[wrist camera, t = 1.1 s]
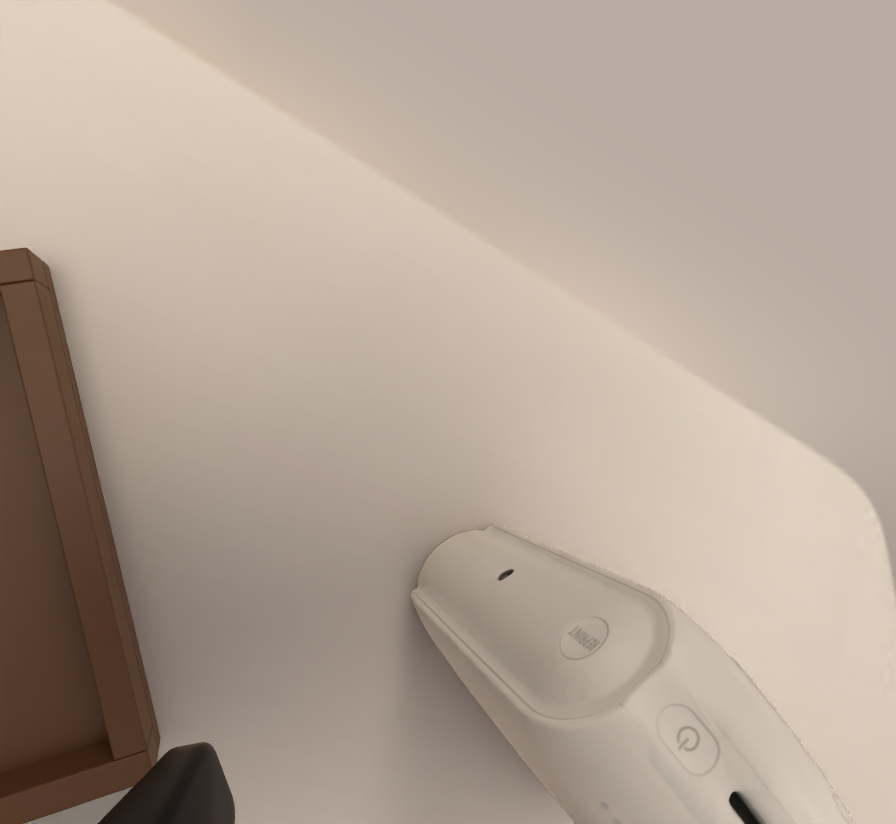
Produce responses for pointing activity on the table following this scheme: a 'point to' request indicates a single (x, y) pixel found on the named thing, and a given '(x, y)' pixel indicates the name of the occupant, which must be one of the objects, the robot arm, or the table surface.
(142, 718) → the tray
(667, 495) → the table surface
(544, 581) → the photo printer
